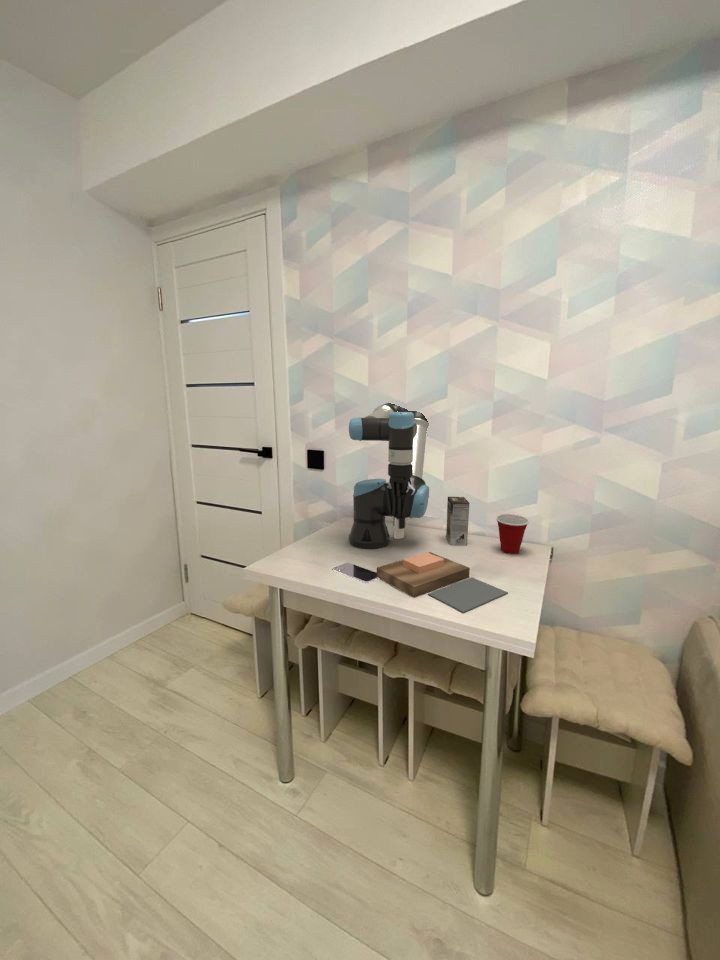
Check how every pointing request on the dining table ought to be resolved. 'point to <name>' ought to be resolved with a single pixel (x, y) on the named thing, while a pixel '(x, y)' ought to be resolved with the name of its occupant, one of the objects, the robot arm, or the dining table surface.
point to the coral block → (423, 562)
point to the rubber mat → (467, 594)
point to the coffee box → (457, 520)
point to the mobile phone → (357, 572)
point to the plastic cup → (511, 531)
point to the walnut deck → (422, 576)
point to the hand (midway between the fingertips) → (398, 537)
